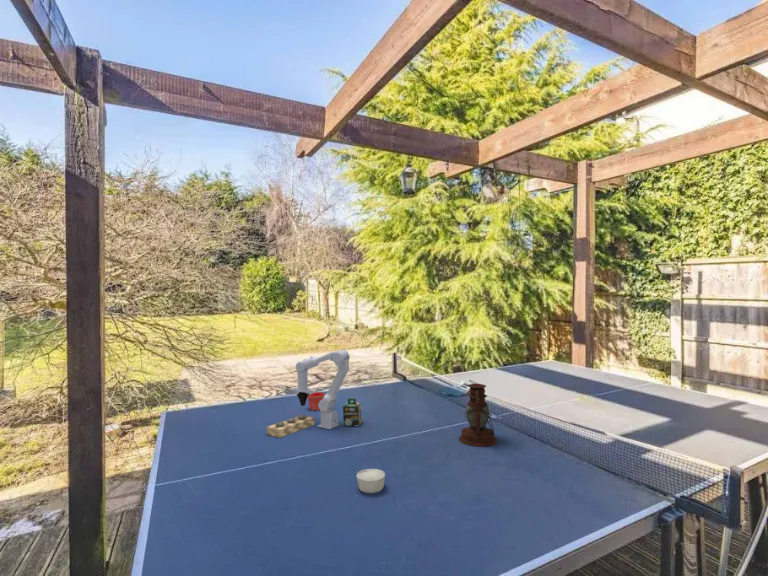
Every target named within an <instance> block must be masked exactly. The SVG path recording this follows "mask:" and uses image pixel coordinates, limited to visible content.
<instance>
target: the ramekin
mask: <svg viewBox="0 0 768 576" xmlns="http://www.w3.org/2000/svg"><path fill="white" fill-rule="evenodd" d="M385 479H386V472H385V471H383V470H381V469H377V468H367V469H361V470H359V471H358V472H357V473H356V481H357V486H358V489H359V490H360V491H361V492H362V493H366V494H376V493H379V492H380V491H382V490H383V488H384V487H385V486H384V485H385Z"/></svg>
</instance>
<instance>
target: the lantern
mask: <svg viewBox="0 0 768 576" xmlns="http://www.w3.org/2000/svg"><path fill="white" fill-rule="evenodd" d="M468 381H469V382H470V383H471V384H468V385H467V386H468V387H469V393H468V394H467V396H468V397H469V401H468V402H467V404H466V408H465V412H464V418H465V420H467V423H468V424H469V426H467V427H463V428H462V429H461V435H460V436H459V437H458V440H459V443H461V444H463V445H465V446H469V447H476V448H486V447H488V448H489V447H492V446H494V445H495V446H496V445H497V444H498V439H497V437H495V436H496V435H495V429H494V426H493V425H494V424H493V422H492V420H491V417H492V416H491V415H492V414H491V412H490V410H489V405H488V403H487V402H486V398H487V397H488V395H487V394H485V393H486V390H485V388H487V386H486V385H487V384H486V385H485V384H483V383H477V382H475V381H474V380H471V379H469V380H468ZM489 421H490V422H489ZM487 425H489V427H486V426H487Z"/></svg>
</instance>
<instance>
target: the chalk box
mask: <svg viewBox="0 0 768 576" xmlns="http://www.w3.org/2000/svg"><path fill="white" fill-rule="evenodd" d="M342 411H343V412H342V414H343V415H342V417H343V426H344V425H347V426H346V427H356V426H355V425H359V426H361V423H362V422H363V421H362V402H361V401H357V400H356V398H347V401H346V402H345V403H344V405H343V406H342ZM349 425H350V426H349ZM352 425H354V426H352Z"/></svg>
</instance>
